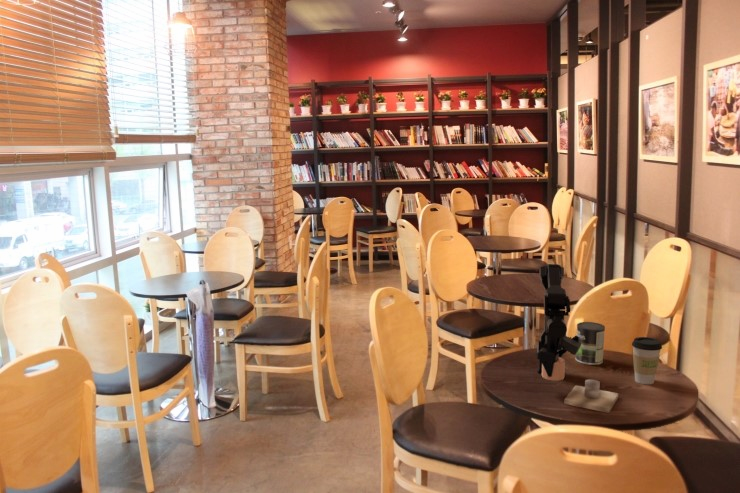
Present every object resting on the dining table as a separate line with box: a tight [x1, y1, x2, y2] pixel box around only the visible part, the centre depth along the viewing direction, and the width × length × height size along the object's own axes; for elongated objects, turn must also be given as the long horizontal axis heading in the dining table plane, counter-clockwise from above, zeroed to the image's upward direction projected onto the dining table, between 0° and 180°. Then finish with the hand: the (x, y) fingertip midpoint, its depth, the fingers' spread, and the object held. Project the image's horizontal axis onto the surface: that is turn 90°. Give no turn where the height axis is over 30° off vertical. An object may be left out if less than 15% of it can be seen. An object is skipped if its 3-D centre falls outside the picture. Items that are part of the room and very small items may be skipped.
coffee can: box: [574, 321, 606, 366], centre depth 249 cm, size 10×10×14 cm
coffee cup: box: [631, 336, 663, 385], centre depth 227 cm, size 10×10×15 cm
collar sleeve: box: [541, 357, 566, 382], centre depth 217 cm, size 7×7×6 cm
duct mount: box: [563, 378, 619, 414], centre depth 212 cm, size 14×14×6 cm
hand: (553, 373), depth 218 cm, fingers closed on collar sleeve, 7 cm apart
